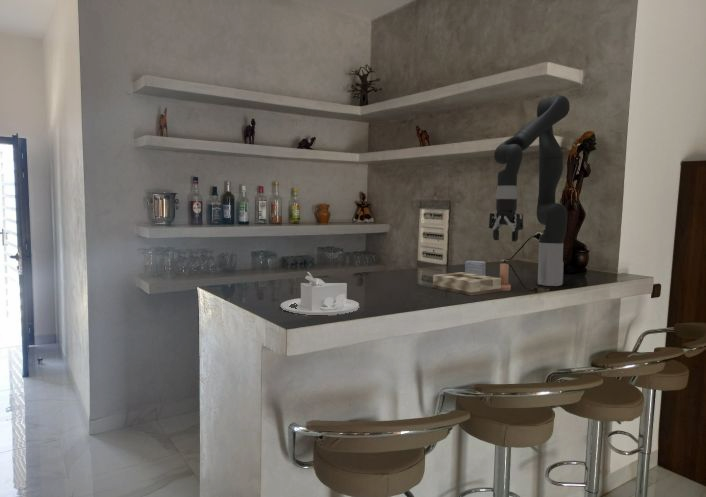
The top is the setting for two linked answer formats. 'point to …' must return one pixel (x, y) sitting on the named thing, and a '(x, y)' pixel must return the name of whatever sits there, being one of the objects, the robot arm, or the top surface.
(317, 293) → the dish
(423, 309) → the top surface
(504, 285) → the peg
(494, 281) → the beige flat block
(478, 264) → the medicine box
